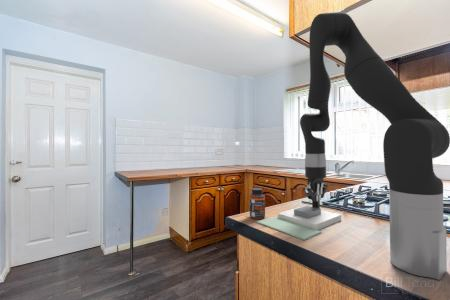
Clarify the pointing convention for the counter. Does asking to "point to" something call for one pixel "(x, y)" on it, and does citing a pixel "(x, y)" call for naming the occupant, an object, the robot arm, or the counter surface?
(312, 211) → the grey flat block
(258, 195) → the supplement bottle
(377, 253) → the counter surface
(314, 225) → the riser
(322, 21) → the robot arm
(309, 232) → the mat
